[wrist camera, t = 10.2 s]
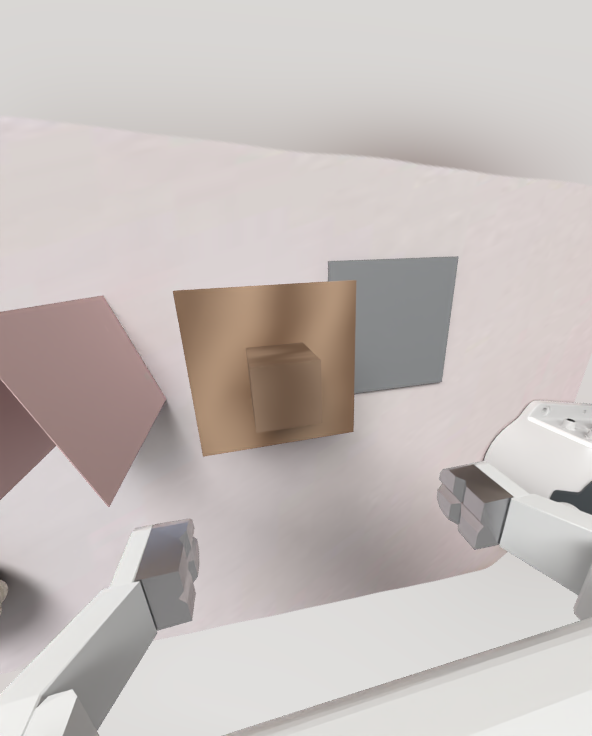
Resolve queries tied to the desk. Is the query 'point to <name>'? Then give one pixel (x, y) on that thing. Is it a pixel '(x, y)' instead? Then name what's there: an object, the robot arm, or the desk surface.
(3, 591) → the fossil replica
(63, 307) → the greeting card
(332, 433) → the walnut lid
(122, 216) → the desk surface
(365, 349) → the rubber mat
